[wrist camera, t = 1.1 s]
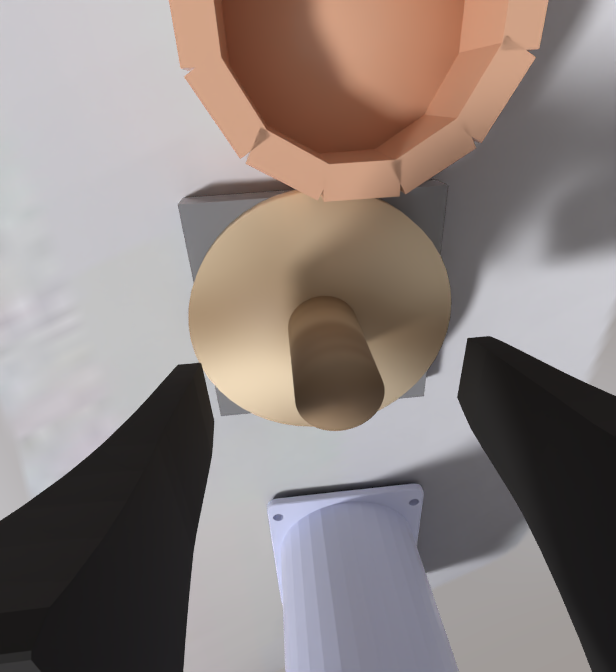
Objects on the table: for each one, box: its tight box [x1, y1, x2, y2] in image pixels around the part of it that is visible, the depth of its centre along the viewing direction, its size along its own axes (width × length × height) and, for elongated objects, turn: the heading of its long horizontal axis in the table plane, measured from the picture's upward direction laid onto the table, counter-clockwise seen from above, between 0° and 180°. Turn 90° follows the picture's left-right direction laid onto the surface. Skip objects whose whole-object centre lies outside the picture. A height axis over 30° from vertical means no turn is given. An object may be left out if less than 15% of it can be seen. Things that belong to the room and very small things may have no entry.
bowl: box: [169, 0, 549, 202], centre depth 10 cm, size 8×8×3 cm
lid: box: [189, 190, 451, 431], centre depth 13 cm, size 9×9×5 cm
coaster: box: [178, 180, 448, 416], centre depth 15 cm, size 8×8×1 cm
